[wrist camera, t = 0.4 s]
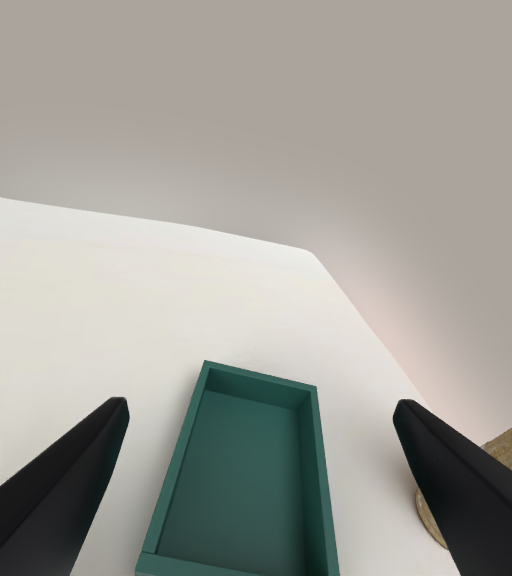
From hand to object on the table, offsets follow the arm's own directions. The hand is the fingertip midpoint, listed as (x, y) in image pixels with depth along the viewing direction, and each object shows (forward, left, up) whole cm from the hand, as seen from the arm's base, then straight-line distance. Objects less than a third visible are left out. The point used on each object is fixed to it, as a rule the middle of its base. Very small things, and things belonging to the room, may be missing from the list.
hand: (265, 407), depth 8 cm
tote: (+4, -3, -16) cm, 17 cm away
